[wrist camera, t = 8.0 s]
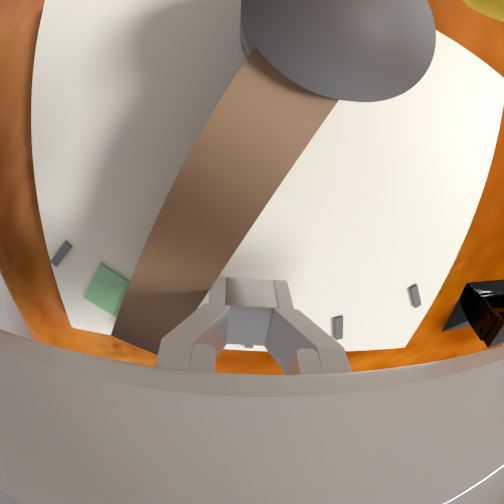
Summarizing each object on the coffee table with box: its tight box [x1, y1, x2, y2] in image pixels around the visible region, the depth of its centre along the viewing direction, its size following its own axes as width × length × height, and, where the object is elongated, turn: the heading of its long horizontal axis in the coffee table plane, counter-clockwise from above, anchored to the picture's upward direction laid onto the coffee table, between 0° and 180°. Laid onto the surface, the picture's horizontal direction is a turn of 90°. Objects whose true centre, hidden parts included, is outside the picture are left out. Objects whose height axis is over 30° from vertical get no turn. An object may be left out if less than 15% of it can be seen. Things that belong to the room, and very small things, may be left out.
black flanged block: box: [442, 280, 504, 348], centre depth 18 cm, size 12×7×5 cm, turn 88°
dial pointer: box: [111, 0, 436, 355], centre depth 9 cm, size 20×5×4 cm, turn 149°
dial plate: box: [31, 0, 504, 351], centre depth 13 cm, size 20×24×2 cm
